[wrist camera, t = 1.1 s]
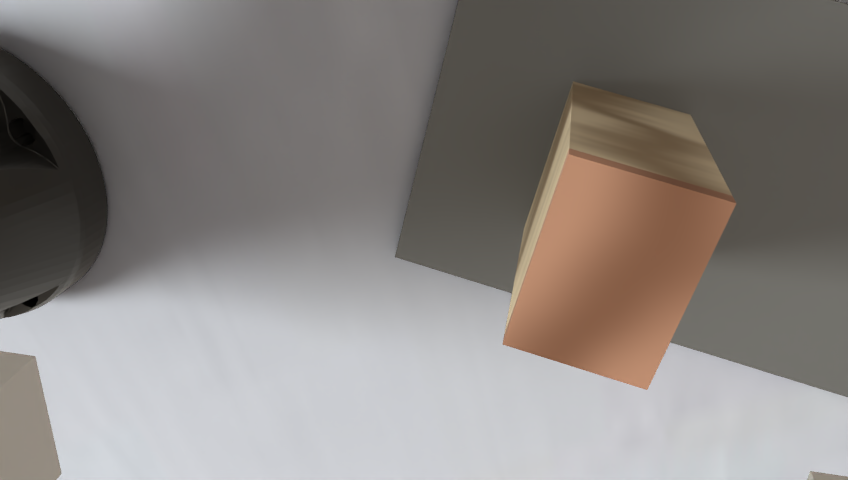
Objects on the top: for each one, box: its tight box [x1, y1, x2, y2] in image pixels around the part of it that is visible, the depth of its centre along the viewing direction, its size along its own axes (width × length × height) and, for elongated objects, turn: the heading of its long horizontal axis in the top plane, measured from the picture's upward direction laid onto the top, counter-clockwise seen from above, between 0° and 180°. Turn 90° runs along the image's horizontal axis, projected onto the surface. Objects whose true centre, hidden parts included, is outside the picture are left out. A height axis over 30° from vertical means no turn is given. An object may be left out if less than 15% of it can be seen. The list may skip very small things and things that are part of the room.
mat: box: [395, 0, 848, 397], centre depth 31 cm, size 24×16×1 cm, turn 77°
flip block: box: [503, 81, 736, 390], centre depth 27 cm, size 5×7×10 cm
